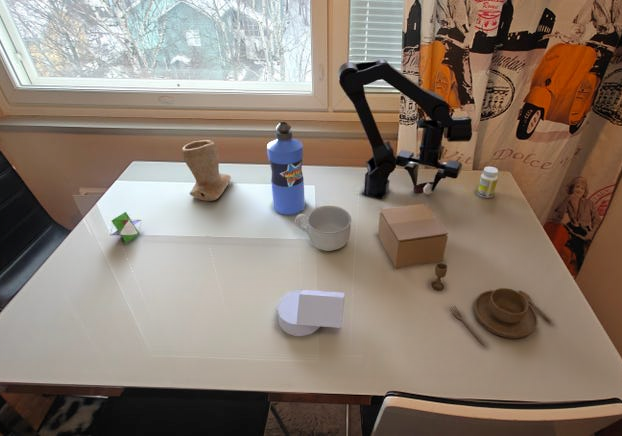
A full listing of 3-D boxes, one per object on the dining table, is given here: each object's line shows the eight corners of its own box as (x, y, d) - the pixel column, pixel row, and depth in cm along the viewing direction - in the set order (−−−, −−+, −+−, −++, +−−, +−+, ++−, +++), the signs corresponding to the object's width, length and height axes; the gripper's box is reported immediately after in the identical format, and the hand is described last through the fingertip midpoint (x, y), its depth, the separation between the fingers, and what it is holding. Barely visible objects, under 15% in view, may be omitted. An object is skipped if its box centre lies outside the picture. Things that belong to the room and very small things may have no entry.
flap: (380, 210, 96) (380, 209, 96) (424, 204, 98) (424, 203, 98) (388, 225, 91) (388, 224, 91) (435, 219, 94) (435, 217, 93)
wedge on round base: (344, 304, 81) (283, 299, 82) (345, 280, 77) (281, 276, 78) (341, 339, 74) (274, 334, 75) (341, 315, 70) (271, 310, 71)
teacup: (356, 237, 100) (358, 211, 96) (339, 262, 92) (339, 235, 88) (309, 223, 105) (308, 198, 100) (289, 246, 97) (286, 220, 92)
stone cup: (200, 177, 126) (190, 133, 118) (235, 179, 125) (228, 135, 117) (179, 201, 114) (167, 155, 106) (218, 204, 113) (209, 157, 104)
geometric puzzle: (100, 232, 98) (105, 216, 92) (123, 218, 103) (129, 202, 97) (122, 252, 98) (128, 237, 93) (143, 237, 103) (150, 222, 98)
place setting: (489, 355, 71) (496, 334, 68) (426, 284, 86) (430, 264, 83) (558, 325, 77) (568, 304, 73) (488, 263, 92) (494, 244, 88)
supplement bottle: (491, 190, 120) (497, 166, 115) (494, 198, 116) (501, 173, 111) (475, 189, 120) (481, 165, 116) (478, 197, 117) (484, 172, 112)
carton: (377, 235, 101) (380, 209, 96) (420, 229, 103) (424, 203, 98) (395, 268, 90) (398, 240, 86) (442, 260, 93) (448, 233, 88)
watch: (419, 198, 116) (421, 188, 114) (409, 191, 119) (410, 181, 117) (438, 191, 119) (440, 181, 117) (427, 185, 123) (429, 175, 121)
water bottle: (311, 208, 111) (308, 125, 97) (282, 218, 107) (274, 133, 93) (295, 194, 118) (290, 114, 103) (267, 203, 113) (258, 121, 99)
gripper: (470, 137, 112) (460, 184, 121) (409, 126, 119) (404, 171, 128) (462, 152, 104) (451, 201, 113) (396, 138, 111) (391, 186, 120)
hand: (424, 188), depth 119 cm, fingers closed on watch, 5 cm apart
